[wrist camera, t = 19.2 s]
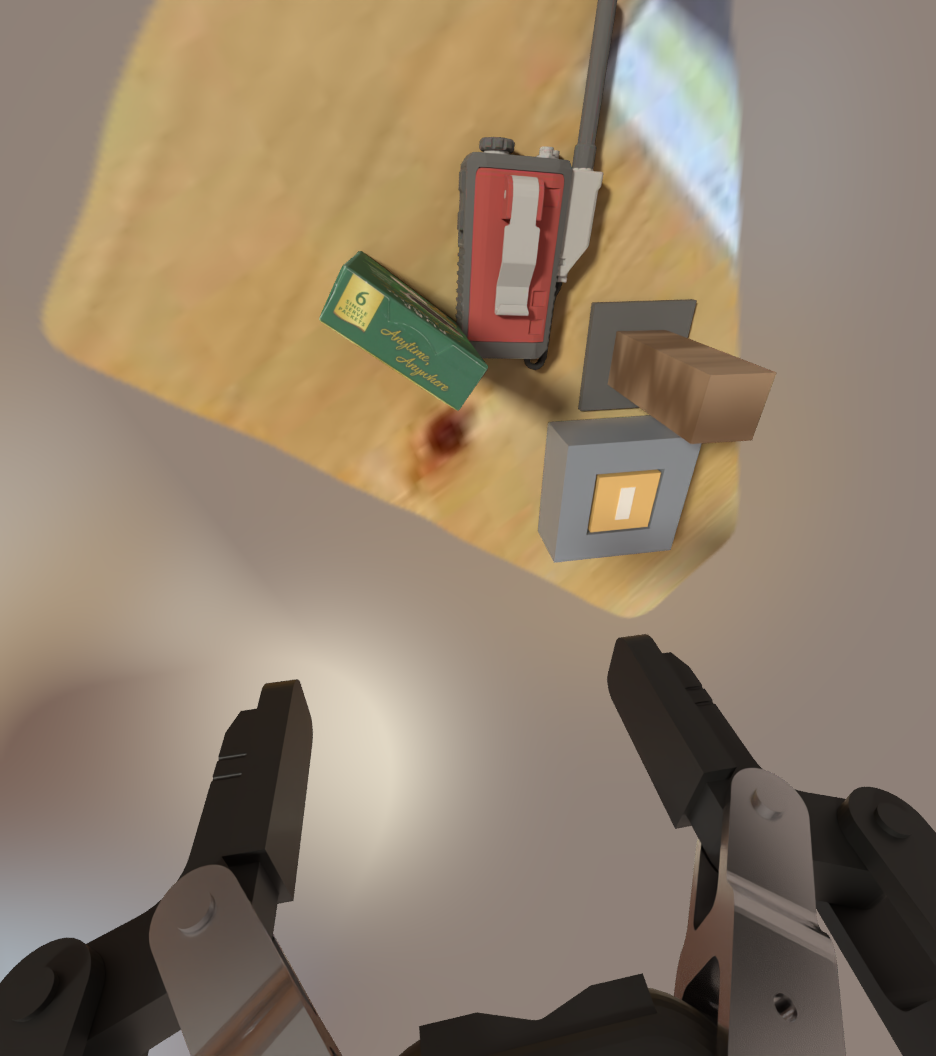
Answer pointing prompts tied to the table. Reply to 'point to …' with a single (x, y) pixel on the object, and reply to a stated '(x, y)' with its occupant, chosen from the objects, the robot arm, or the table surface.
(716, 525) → the table surface
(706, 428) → the tall cardboard-brown rectangular prism
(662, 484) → the box
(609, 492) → the button
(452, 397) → the coffee box
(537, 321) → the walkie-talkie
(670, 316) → the mat
